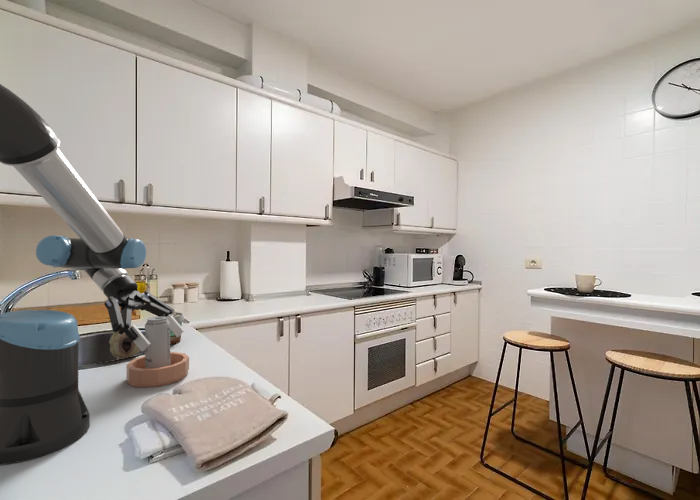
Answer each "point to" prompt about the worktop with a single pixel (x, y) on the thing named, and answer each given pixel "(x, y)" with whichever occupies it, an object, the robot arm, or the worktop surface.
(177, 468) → the worktop surface
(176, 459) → the worktop surface
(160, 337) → the energy drink can
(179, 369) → the terracotta bowl
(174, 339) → the food container
